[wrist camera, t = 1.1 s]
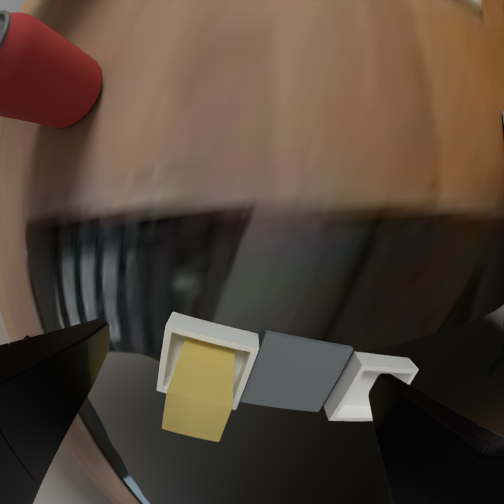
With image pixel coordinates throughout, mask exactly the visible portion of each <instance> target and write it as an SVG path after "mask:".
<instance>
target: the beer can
mask: <svg viewBox="0 0 504 504" xmlns="http://www.w3.org/2000/svg"><path fill="white" fill-rule="evenodd" d="M101 84H102V71H101V68H100V66H99V64H98V62H97V61H95V60H94V59H93V58H91V57H90V56H89V55H87V54H86V53H85V52H83V51H82V50H81V49H79V48H78V47H76V46H75V45H74V44H72V43H71V42H70V41H68V40H67V39H65V38H64V37H63V36H61V35H60V34H58V33H57V32H56V31H54V30H53V29H51V28H50V27H48V26H47V25H45V24H44V23H42V22H41V21H39V20H38V19H36V18H35V17H33V16H31V15H29V14H25V13H9V12H8V11H5V10H3V11H0V116H3V117H8V118H13V119H18V120H23V121H28V122H33V123H38V124H42V125H47V126H51V127H55V128H64V127H68V126H70V125H72V124H74V123H76V122H78V121H79V120H80V119H81V118H82V117H84V116H85V115H86V114H87V113H88V111H89V110H90V109H91V107H92V106H93V105H94V103H95V101H96V99H97V97H98V95H99V93H100V89H101Z"/></svg>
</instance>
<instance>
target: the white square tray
mask: <svg viewBox="0 0 504 504" xmlns="http://www.w3.org/2000/svg"><path fill="white" fill-rule="evenodd" d="M418 370H419V369H418V368H417V367H416V366H415V365H414V364H413V362H412V361H411V360H410V359H409V358H403V357H394V356H386V355H377V354H370V353H362V352H355V351H354V352H353V354H352V356H351V358H350V360H349V362H348V364H347V366H346V368H345V369H344V371H343V373H342V375H341V377H340V378H339V380H338V382H337V384H336V386H335V387H334V389H333V391H332V392H331V394H330V396H329V398H328V399H327V401H326V403H325V404H324V408H325V411H326V414H327V417H328V420H329V421H373V419H372V413H371V408H370V403H369V397H368V395H369V391H370V389H371V387H372V385H373V384H374V382H375V380H376V378H377V377H378V375H379V374H381V373H389V374H392V375H394V376H395V377H397V378H399V379H400V380H402V381H404V382H405V383H407V384H410V383H411V381H412V380H413V378H414V376H415V375H416V373H417V372H418Z"/></svg>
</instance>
